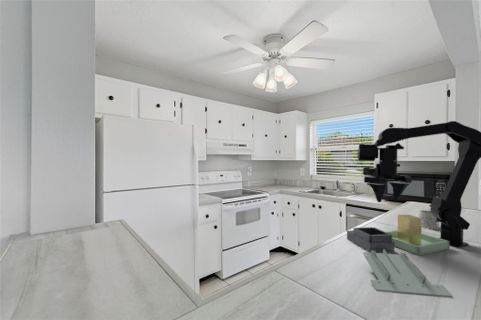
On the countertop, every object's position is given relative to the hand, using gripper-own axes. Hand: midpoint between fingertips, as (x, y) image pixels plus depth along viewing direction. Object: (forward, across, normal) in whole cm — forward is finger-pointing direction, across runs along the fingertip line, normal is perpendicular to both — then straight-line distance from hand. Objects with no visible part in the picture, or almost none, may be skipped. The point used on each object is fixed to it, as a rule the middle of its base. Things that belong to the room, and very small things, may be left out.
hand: (387, 201), depth 82 cm
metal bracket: (+14, +28, +22) cm, 38 cm away
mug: (+13, -29, -2) cm, 32 cm away
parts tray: (+13, +1, +9) cm, 16 cm away
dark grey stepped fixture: (+13, +16, +5) cm, 21 cm away
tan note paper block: (+12, +2, +9) cm, 15 cm away
